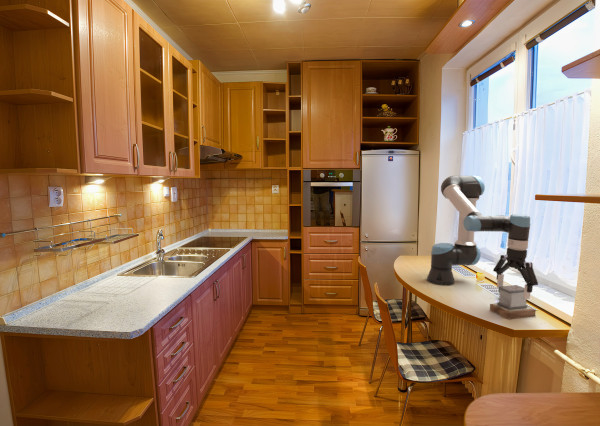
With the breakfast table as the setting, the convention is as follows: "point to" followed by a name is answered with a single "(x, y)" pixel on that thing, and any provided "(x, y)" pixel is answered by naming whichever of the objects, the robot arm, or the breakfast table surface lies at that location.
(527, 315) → the stand
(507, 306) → the block
